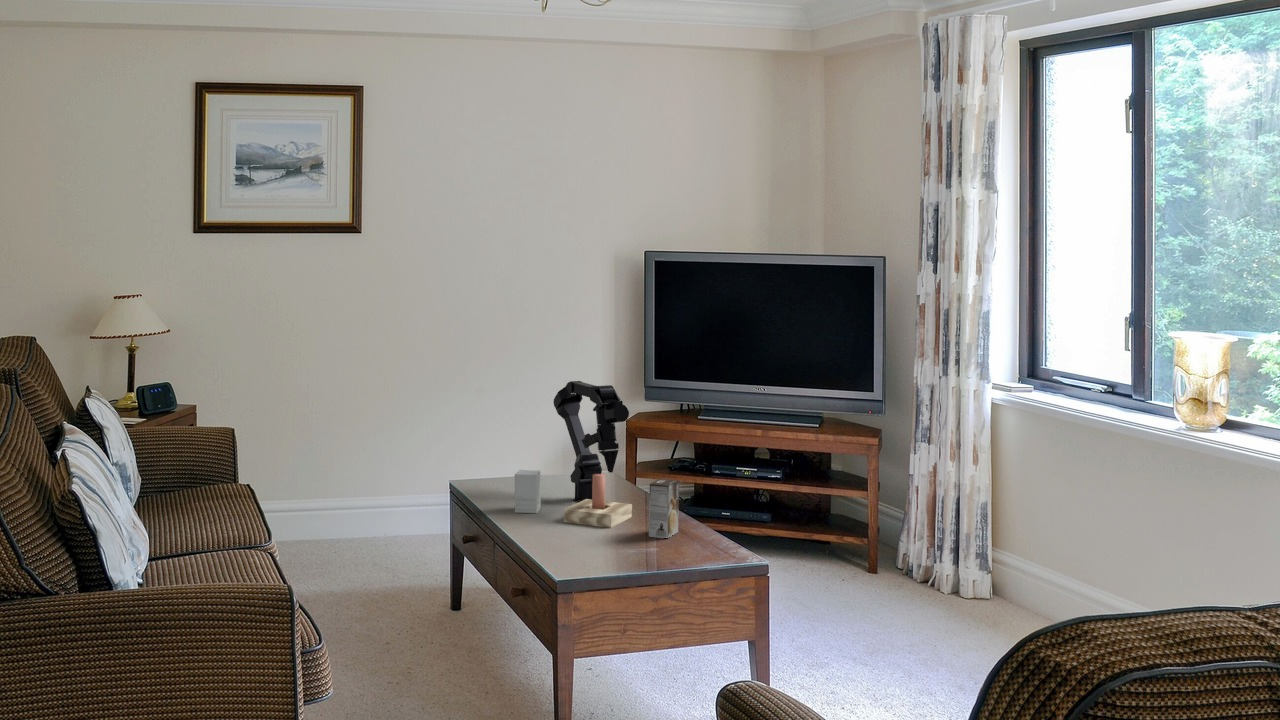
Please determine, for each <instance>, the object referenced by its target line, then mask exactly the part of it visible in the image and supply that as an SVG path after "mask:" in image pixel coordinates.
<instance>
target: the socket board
mask: <svg viewBox="0 0 1280 720" xmlns="http://www.w3.org/2000/svg"><path fill="white" fill-rule="evenodd" d="M632 515H633V504H632V503H626V502H625V503H624V502H623V503H622V502H615V501H606V500H605V509H604V510H601V509H593V508H592V500H591V499H585V500H583V501H578V502H577V503H574V504H573V505H570V506H568V507H566V508H563V522H564V523H569V524H577V525H585V526H594V527H601V528H609V529H612V528H614V527H616V526H618V525H619V524H621V523H623V522H625V521H626V520H628V519H631V518H632V517H633V516H632Z"/></svg>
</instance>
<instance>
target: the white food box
mask: <svg viewBox="0 0 1280 720" xmlns="http://www.w3.org/2000/svg"><path fill="white" fill-rule="evenodd" d="M648 495H649V498H648V499H649V501H648V504H649V505H648V506H649V507H648V511H649V512H648V537H649V538H655V539H656V538H657V539H663V538H669V537H670V538H672V537H673V536H674V535H676V534H677V533H678V532H679V515H680V513H679V511H680V510H679V507H680V501H679V500H680V479H669V478H657V480H655V481H653V482H651V483H649V494H648ZM672 535H673V536H672ZM670 538H669V539H670Z"/></svg>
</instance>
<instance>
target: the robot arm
mask: <svg viewBox="0 0 1280 720" xmlns="http://www.w3.org/2000/svg"><path fill="white" fill-rule="evenodd" d="M583 397H587V398H589V400H590V402H592V403H594V404H595V406H594V407H593V408H592V411H593V412H595V415H596V432H595V433H593V434H590V433H587V434H585V431H584V429H583V425H582V422H581V419H580V416H579V413H580V410H581V402H582V400H583ZM623 403H624V402H623V400H621V398H620V396H619V395H618V393H617V391H616V389H615V387H614V386H613V385H611V384H610V385H607V384H605V385H594V384H592V383H588V382H583V381H581V380H572V381H571V380H570V381H568V382H566V384H565V386H564V387H562V388H561V389H560V390H558V392H557V393H556V395H555V396H554V399H553V406H554V408H555V410H556V413H557V415H558V416H560V417H561V418H562V420H564V422H565V426H566V428H567V431H568V435H569V437H570V441H571V444H572V447H573V450H574V454H575V456H576V458H575V461H574V465H573V466H574V470H573V471H572V473H571V474H570V477H569V478H570V482H571V483H573V484H574V498H572V501H575V502H581V501H583V500H585V499H591V500H592V479H593V474H603V473H602V471H603V468H602V465H601V464H602V463H601V462H600V459H599V456H598V454H597V453H593V452H591V449H590V446H592V445H594V444H597V451H598V453H600V454H601V455H602V456H603V457H604V458H603V459H604V461H605V462H604V463H605V465H606V468H607V471H608V473H609V474H610V473H613V471H614V469H615V465H616V462H617V458H618V453H619V451H620V450H619V449H620V448H619V442H618V441H617V435H616V433H617V432H616V423H623V422H626V421H627V420H628V418H629V416H630V411H629V409H628V407H627V406H626V405H625V404H623Z"/></svg>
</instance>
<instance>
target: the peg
mask: <svg viewBox="0 0 1280 720" xmlns="http://www.w3.org/2000/svg"><path fill="white" fill-rule="evenodd" d="M605 501H606V474H603V473H601V474H593V479H592V508H593V509H601V510H604V509H605Z"/></svg>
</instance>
